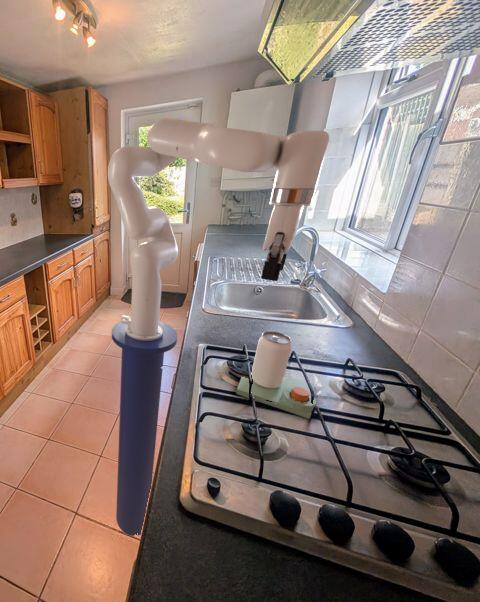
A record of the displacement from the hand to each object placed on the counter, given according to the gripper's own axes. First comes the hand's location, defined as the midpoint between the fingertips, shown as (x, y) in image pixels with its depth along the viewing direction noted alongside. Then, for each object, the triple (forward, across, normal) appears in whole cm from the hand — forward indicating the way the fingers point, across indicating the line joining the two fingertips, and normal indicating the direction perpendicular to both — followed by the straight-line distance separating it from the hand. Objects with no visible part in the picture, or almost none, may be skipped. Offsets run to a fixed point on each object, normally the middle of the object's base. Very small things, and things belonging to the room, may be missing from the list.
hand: (272, 274), depth 71 cm
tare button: (+23, +12, +11) cm, 28 cm away
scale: (+26, +8, +7) cm, 28 cm away
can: (+24, +7, +4) cm, 26 cm away
